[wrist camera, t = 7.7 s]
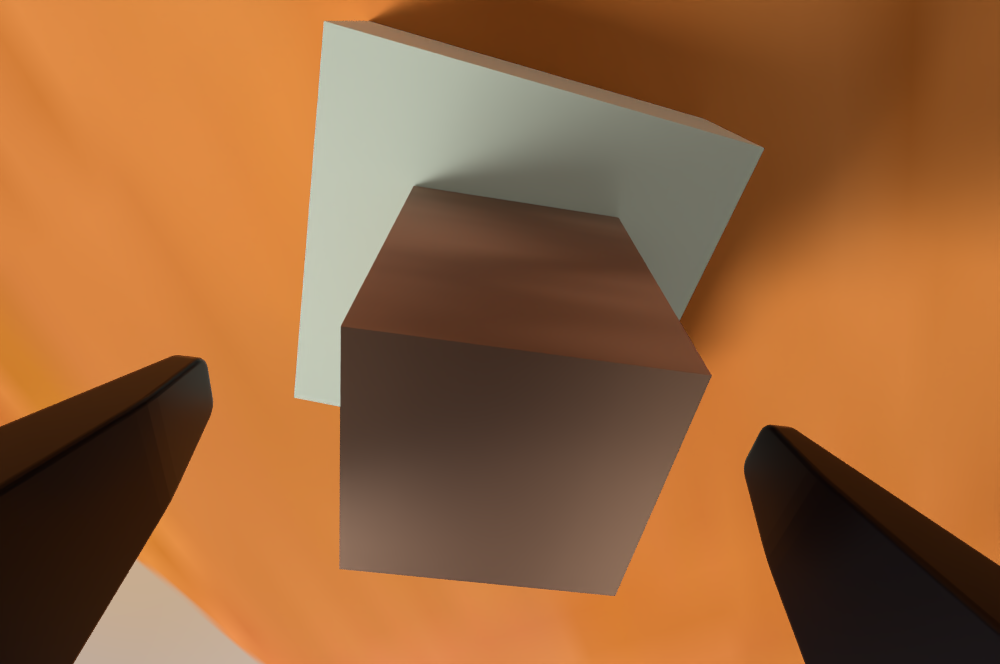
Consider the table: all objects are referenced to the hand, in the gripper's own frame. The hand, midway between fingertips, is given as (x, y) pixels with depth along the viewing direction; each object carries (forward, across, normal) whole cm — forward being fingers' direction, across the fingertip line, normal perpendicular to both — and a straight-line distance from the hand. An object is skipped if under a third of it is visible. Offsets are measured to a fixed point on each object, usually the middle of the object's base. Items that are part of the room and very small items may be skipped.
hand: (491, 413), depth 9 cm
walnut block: (+5, 0, 0) cm, 5 cm away
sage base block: (+9, 0, 0) cm, 9 cm away
